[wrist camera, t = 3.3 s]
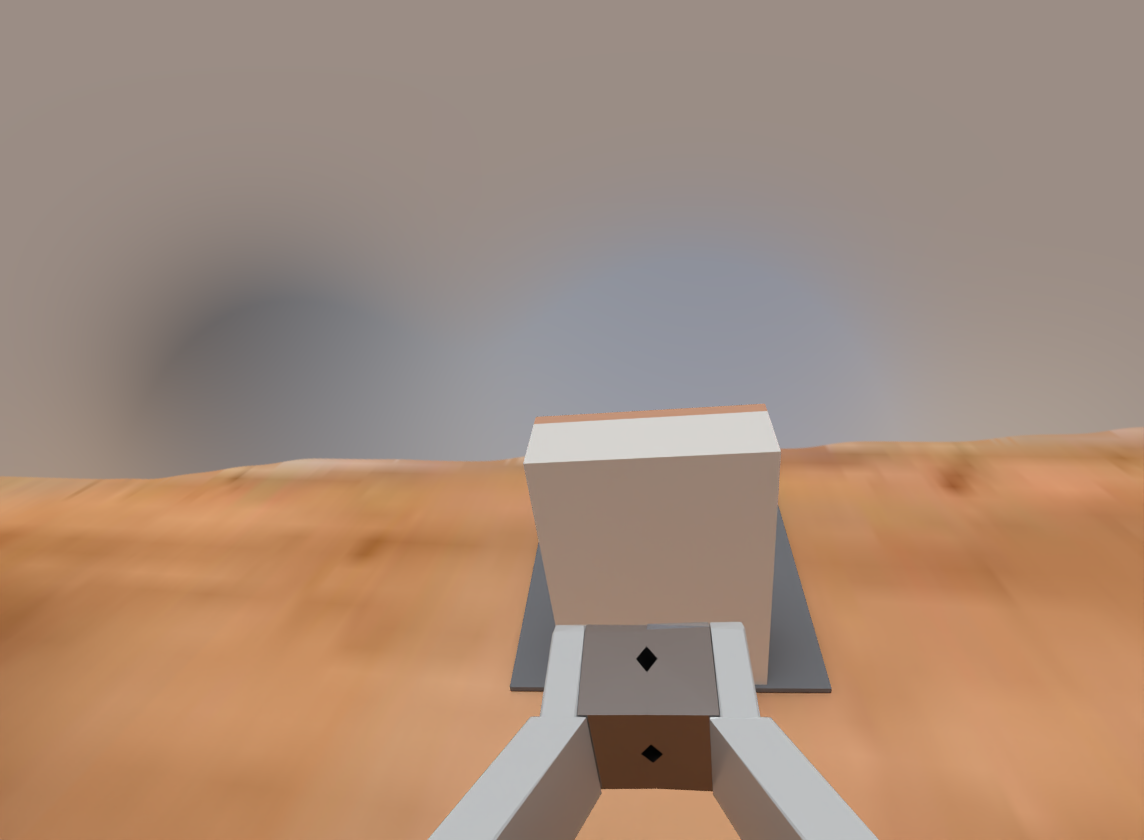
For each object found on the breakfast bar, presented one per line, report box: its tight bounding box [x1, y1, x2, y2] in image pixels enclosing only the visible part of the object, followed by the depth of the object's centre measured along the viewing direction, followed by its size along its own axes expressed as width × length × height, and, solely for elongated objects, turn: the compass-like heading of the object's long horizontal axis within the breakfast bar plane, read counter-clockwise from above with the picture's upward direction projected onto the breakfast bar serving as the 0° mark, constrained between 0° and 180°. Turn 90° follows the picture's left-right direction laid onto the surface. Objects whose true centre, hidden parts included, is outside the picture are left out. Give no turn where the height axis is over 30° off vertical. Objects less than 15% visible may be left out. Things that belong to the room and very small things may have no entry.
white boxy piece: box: [523, 404, 781, 685], centre depth 30 cm, size 10×4×14 cm, turn 85°
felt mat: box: [510, 507, 831, 693], centre depth 38 cm, size 16×16×1 cm
